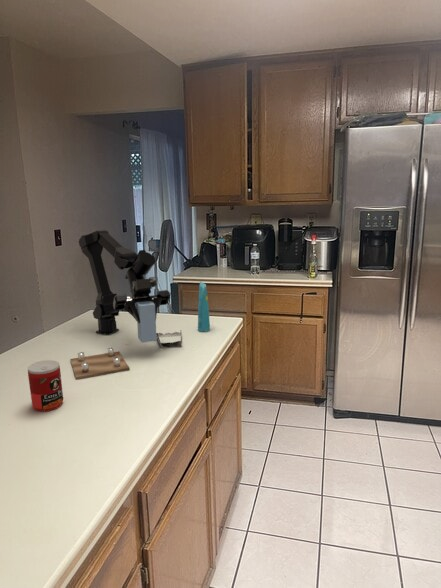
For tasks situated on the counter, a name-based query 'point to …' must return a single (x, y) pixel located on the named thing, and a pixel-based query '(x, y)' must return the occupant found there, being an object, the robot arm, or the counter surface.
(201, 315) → the tube
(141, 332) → the slate blue block
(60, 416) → the counter surface
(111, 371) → the peg stand
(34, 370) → the canned food
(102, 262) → the robot arm
